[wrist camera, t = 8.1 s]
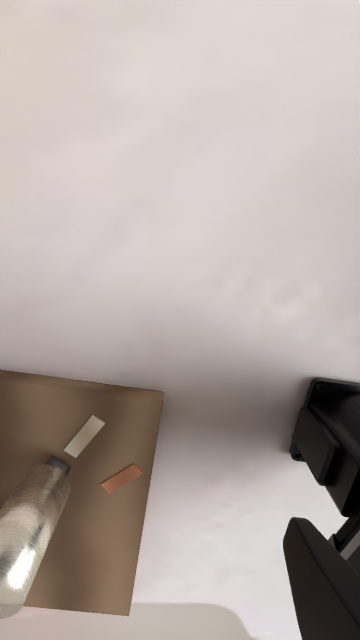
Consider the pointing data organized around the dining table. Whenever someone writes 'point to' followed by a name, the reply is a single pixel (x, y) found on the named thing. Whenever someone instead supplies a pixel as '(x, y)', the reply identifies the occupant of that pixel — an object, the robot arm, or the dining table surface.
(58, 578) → the board
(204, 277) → the dining table surface
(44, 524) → the lever
